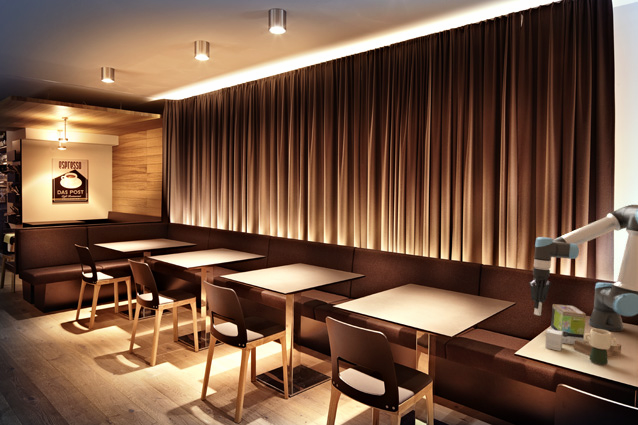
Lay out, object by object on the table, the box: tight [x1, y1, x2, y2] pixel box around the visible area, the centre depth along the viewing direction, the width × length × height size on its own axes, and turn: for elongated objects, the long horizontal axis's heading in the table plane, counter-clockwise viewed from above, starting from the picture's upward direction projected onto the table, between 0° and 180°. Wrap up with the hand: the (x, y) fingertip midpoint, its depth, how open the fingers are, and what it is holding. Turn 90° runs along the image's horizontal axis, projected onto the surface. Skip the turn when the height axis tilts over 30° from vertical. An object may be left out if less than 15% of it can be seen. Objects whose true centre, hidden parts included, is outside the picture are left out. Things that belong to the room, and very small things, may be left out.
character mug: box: [584, 328, 618, 365], centre depth 177 cm, size 11×7×13 cm, turn 61°
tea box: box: [550, 303, 587, 345], centre depth 206 cm, size 15×10×15 cm, turn 168°
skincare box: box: [544, 328, 563, 352], centre depth 193 cm, size 6×6×7 cm
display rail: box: [573, 340, 623, 357], centre depth 191 cm, size 16×10×4 cm, turn 113°
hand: (537, 314), depth 221 cm, fingers closed
